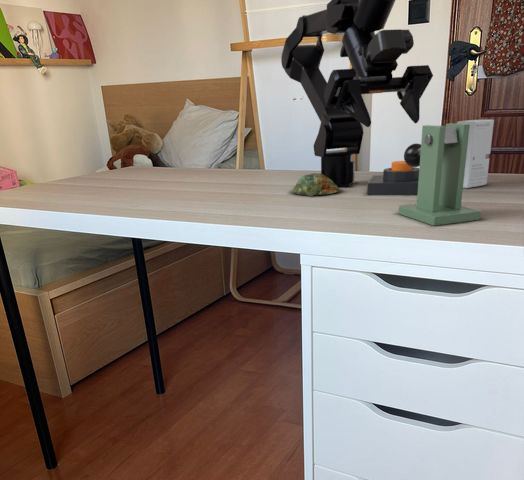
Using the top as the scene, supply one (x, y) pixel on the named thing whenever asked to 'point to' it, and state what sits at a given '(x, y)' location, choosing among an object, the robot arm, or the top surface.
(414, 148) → the lever
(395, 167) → the button
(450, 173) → the bracket
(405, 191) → the button box
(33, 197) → the top surface
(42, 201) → the top surface
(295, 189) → the green mottled dome
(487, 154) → the cosmetic box
